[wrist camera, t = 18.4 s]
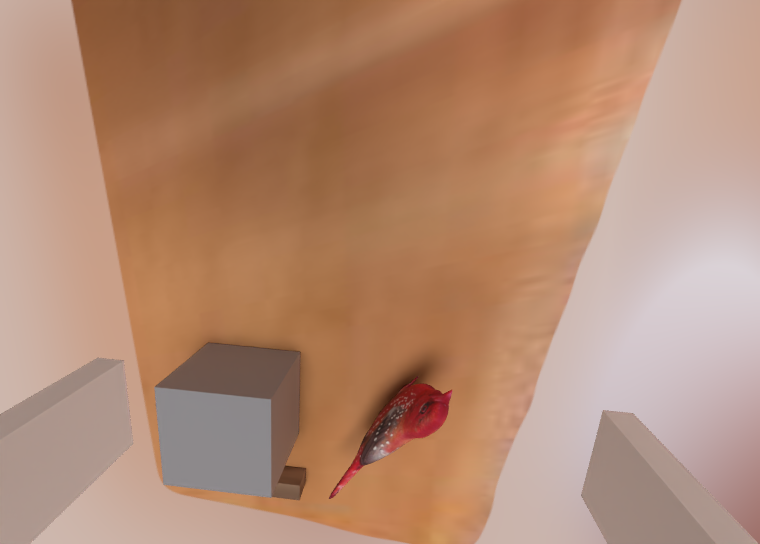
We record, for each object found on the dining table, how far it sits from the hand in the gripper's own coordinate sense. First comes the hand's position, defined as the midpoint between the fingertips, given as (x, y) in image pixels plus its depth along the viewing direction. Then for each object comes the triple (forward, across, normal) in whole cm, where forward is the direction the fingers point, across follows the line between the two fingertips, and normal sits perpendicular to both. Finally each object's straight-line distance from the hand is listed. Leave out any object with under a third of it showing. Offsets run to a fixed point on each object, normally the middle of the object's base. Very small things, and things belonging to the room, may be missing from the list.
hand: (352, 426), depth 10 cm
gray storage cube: (+27, -14, -17) cm, 35 cm away
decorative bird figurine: (+27, +1, -17) cm, 32 cm away
